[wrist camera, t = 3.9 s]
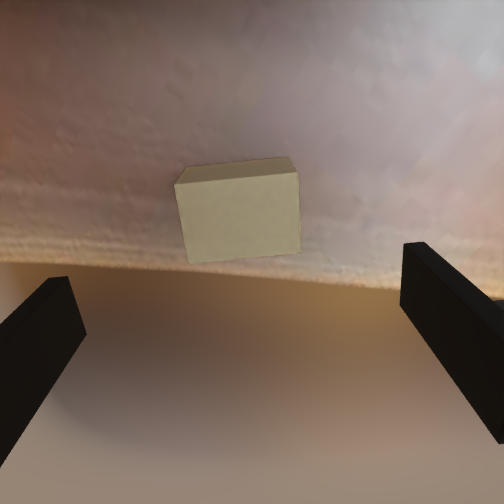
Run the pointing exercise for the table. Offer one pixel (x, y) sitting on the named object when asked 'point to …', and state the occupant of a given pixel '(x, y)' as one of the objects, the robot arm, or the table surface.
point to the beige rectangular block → (239, 210)
